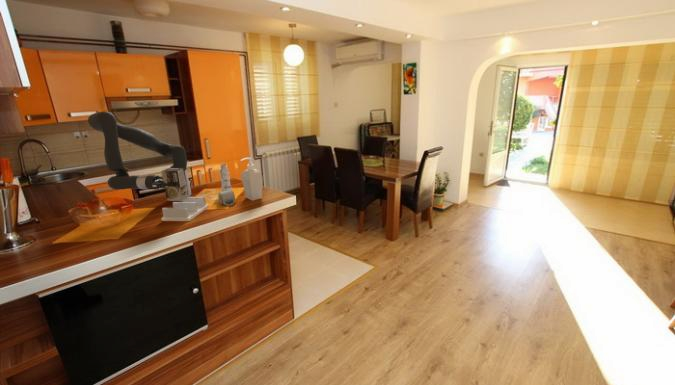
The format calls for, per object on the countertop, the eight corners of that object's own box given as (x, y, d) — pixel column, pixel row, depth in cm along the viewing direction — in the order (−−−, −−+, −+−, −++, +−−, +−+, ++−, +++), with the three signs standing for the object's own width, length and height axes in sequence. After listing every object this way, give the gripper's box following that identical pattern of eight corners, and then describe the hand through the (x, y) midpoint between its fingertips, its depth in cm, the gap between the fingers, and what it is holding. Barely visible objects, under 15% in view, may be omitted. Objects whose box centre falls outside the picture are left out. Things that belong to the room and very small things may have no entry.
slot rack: (184, 207, 181) (182, 196, 179) (208, 207, 180) (206, 196, 178) (161, 220, 161) (159, 209, 159) (189, 221, 160) (187, 209, 158)
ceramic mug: (218, 202, 187) (216, 190, 184) (231, 200, 191) (230, 188, 189) (224, 207, 179) (222, 195, 176) (238, 204, 183) (236, 192, 181)
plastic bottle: (222, 196, 199) (218, 166, 193) (221, 193, 205) (217, 164, 199) (233, 194, 202) (229, 164, 196) (231, 192, 208) (227, 163, 202)
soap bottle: (240, 197, 195) (236, 157, 188) (255, 194, 202) (251, 155, 194) (249, 202, 186) (245, 160, 179) (264, 198, 193) (260, 157, 185)
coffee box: (189, 197, 165) (184, 167, 161) (182, 201, 159) (177, 170, 154) (173, 197, 166) (168, 167, 161) (166, 200, 160) (160, 170, 155)
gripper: (138, 178, 153) (170, 179, 152) (156, 172, 167) (186, 172, 166) (141, 193, 155) (172, 193, 154) (159, 185, 169) (188, 185, 168)
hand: (179, 182), depth 160 cm, fingers closed on coffee box, 6 cm apart
